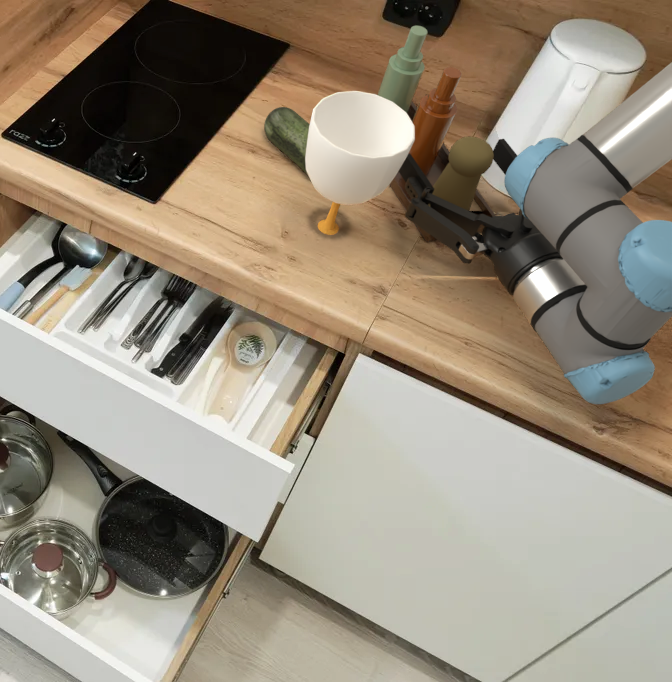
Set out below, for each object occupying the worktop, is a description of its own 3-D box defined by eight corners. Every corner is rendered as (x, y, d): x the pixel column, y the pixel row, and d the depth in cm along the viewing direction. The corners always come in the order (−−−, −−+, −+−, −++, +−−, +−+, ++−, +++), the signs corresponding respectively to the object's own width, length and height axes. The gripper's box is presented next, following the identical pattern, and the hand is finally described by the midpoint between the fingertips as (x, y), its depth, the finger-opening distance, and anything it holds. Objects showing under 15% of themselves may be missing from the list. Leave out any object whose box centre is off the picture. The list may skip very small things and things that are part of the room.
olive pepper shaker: (476, 213, 106) (511, 148, 97) (449, 234, 104) (482, 169, 95) (439, 188, 109) (470, 122, 100) (412, 207, 106) (441, 141, 97)
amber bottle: (426, 154, 113) (466, 61, 101) (434, 177, 110) (476, 85, 98) (393, 153, 112) (429, 59, 100) (399, 176, 109) (438, 83, 97)
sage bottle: (397, 113, 118) (433, 20, 105) (404, 135, 115) (441, 42, 103) (365, 112, 117) (397, 18, 105) (371, 134, 114) (404, 40, 102)
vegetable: (346, 179, 109) (355, 150, 105) (318, 193, 107) (326, 164, 103) (279, 121, 116) (286, 92, 111) (252, 134, 113) (258, 104, 109)
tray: (493, 232, 105) (500, 221, 103) (424, 245, 103) (430, 233, 101) (400, 102, 120) (405, 91, 118) (339, 111, 118) (342, 99, 116)
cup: (342, 189, 108) (379, 82, 94) (390, 250, 102) (437, 145, 88) (266, 210, 105) (292, 101, 91) (310, 274, 99) (346, 168, 85)
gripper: (433, 319, 91) (355, 190, 103) (615, 280, 97) (522, 163, 108) (457, 275, 85) (371, 144, 97) (651, 237, 90) (547, 118, 102)
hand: (451, 154), depth 102 cm, fingers open, 13 cm apart
